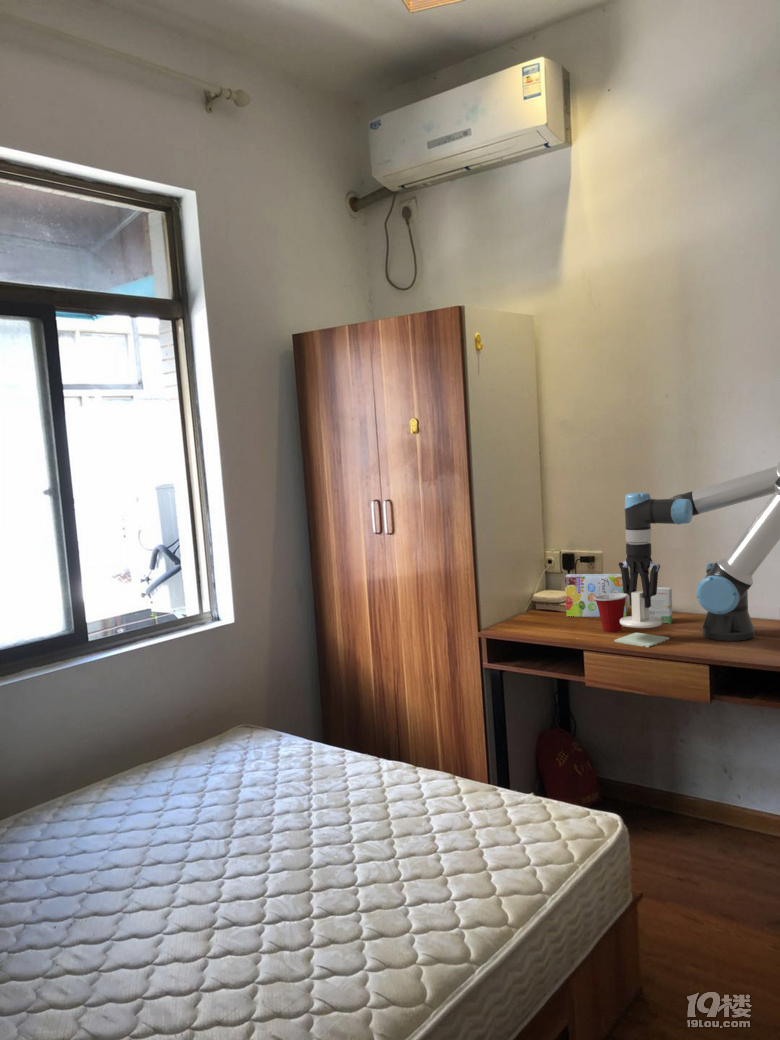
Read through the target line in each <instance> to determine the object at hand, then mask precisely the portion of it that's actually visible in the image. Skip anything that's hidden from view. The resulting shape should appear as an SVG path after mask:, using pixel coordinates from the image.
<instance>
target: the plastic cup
mask: <svg viewBox="0 0 780 1040" xmlns="http://www.w3.org/2000/svg"><path fill="white" fill-rule="evenodd" d="M626 597H627V598H628V594H624V593H611V594H602V595H598V596H595V597H594V599H595V601H596V603H597V606H598V609H599V614H600V617H599V618H600V622H601V625H602V629H603V632H606V633H619V632H622V628H623V626H622V625H621V624H620V619H621V618H624V617H623V616H624V607H625V601H626Z"/></svg>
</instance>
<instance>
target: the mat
mask: <svg viewBox="0 0 780 1040" xmlns="http://www.w3.org/2000/svg"><path fill="white" fill-rule="evenodd" d="M613 640H614V643H620V644H625V645H631V646H638V647H643V646H645V647H644V648H651V647H653V645H654V646H656V645H658V643H659V644H661V643H664V642H666V640H667V641H668V640H670V636H669V637H668V636H661V635H656V634H655V635H654V634H649V633H643V632H642V633H641V632H633V633H629V634H628V635H624V636H622V637H619V638H615V639H613ZM663 641H664V642H663ZM650 646H651V647H650Z"/></svg>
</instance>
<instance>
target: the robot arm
mask: <svg viewBox="0 0 780 1040" xmlns="http://www.w3.org/2000/svg"><path fill="white" fill-rule="evenodd" d="M769 495H771V497H770V498H769V499H768V501H767V502H766V503H765V505H764V506H763V508H762V509H761V510H760V512H759V513H758V515H757V516H756V517H755V518H754V520H753V521H752V522H751V524H750V525H749V526H748V528H747V529H746V530H745V532H744V533H743V535H742V536H741V537H740V539H739V540H738V541H737V543H736V544H735V545H734V546H733V548H732V549H731V550H730V552H729V553H728V555H727V556H726V558H722V559H717V561H716V562H709V563H708V564H707V565H706V570H705V572H706V575H705V576H704V578H703V579H701V580H700V581H699V583H698V584H697V588H696V598H697V602H698V603H699V604H700V606H701V608H703V609H704V610H705V611H707V613H706V616H705V617H704V618H705V619H704V622H703V625H702V629H701V632H702V636H703V637H704V638H707V639H709V638H710V639H709V640H714V639H715V641H721V640H723V641H722V642H724V640H725V642H740V641H739V640H742V641H748V640H747V639H749V640H752V639H754V638H755V637H754V636H756V633H755V632H756V631H755V627H754V624H753V621H752V619H751V616H750V613H749V600H748V598H749V597H748V595H749V593H748V592H749V591H748V590H750V588H751V586H753V584H754V581H753V580H754V578H753V575H754V574H755V573H756V571H757V570H758V568H759V567H760V566H761V564H763V562H764V561H765V559H766V557H767V556H768V555H769V554H770V553H771V551H772V550H773V549H774V548H775V546H776V545H777V544H778V542H779V541H780V461H779V462H778V463H777V465H776V466H773V467H769V468H767V469H763V470H759V471H756V472H753V473H749V474H746V475H742V476H739V477H736V478H731V479H730V480H726V481H722V482H718V483H715V484H712V485H708V486H706V487H701V488H699V489H695V490H692V491H688V492H685V493H684V492H683V493H679V494H677V495H674V496H673V497H670V498H662V499H661V498H658V499H656V498H651V495H650V493H649V492H630V493H627V494H625V496H624V509H623V510H624V515H625V516H624V518H625V542H627V543H626V544H625V554H626V559H625V560H624V561H620V562H618V566H619V568H620V574H621V575H622V583H623V592H624V593H626V594H627V596H628V597H629V606H630V607H632V599H631V593H632V592H635V591H638V590H637V588H638V580H639V579H638V578H639V577H640V581H641V586H642V590H643V594H644V596H642V597H643V598H642V618H643V619H645V618H648V617H649V607H651V596H654V595H656V594H657V587H658V582H659V581H658V580H659V578H658V577H659V571H660V568H661V565H660V564H659V563H658V564H656V563H655V562H653V559H652V544H651V541H652V529H651V528H652V527H651V526H652V524H661V525H662V524H664V525H665V524H667V525H668V524H670V525H671V524H672V525H683V524H690V523H691V522H692V519H693V517H695V516H698V515H700V514H705V513H708V512H711V511H715V510H720V509H722V508H727V507H729V506H733V505H737V504H741V503H743V502H748V501H753V500H754V499H758V498H764V497H766V496H769ZM649 570H650V571H649ZM753 637H754V638H753ZM751 638H752V639H751Z"/></svg>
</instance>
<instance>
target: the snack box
mask: <svg viewBox="0 0 780 1040" xmlns="http://www.w3.org/2000/svg"><path fill="white" fill-rule="evenodd" d="M564 588H565V589H564V590H565V593H564V594H565V610H566V611H565V612H566V615H565V616H566V617H568V616H570V617H571V616H572V617H573V616H574V617H573V618H575V617H576V618H577V617H578V618H583V617H585V618H600V614H599V609H598V606H597V603H596V601H595V599H594V597H595V596H598V595H602V594H611V593H624V592H623V583H622V575H621V573H593V574H592V573H568V574H566V575H565V576H564ZM624 594H626V593H624ZM628 614H629V613H628V596H627V597H626V601H625V607H624V616H623V618H624V617H628V616H629V615H628ZM572 617H571V618H572Z"/></svg>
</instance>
